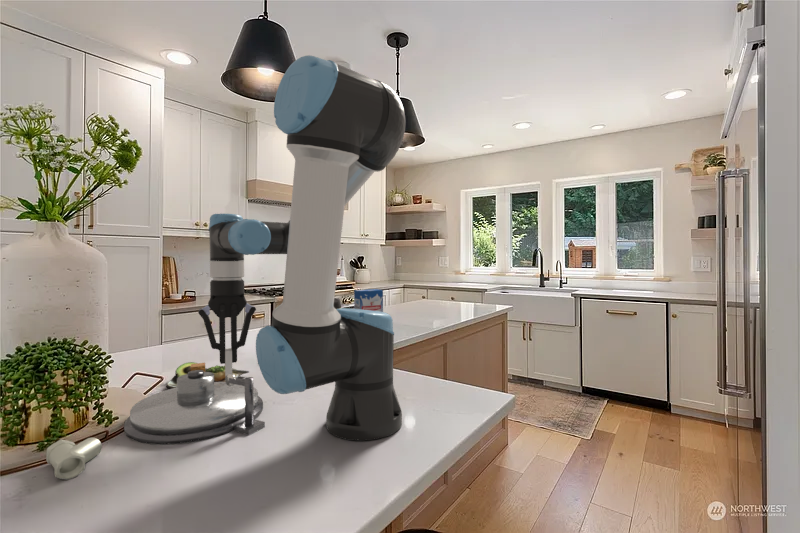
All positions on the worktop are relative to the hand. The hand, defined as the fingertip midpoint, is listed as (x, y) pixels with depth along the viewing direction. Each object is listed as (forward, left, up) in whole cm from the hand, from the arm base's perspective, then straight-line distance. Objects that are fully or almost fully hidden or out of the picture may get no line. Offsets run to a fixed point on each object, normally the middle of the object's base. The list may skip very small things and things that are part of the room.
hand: (228, 376), depth 96 cm
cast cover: (-10, +7, -2) cm, 12 cm away
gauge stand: (-20, -1, -5) cm, 21 cm away
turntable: (-10, +6, -4) cm, 12 cm away
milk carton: (+44, -55, -5) cm, 70 cm away
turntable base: (-10, +6, -5) cm, 13 cm away
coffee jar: (+36, -36, -5) cm, 51 cm away
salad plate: (+15, +5, -5) cm, 17 cm away
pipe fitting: (-24, +24, -5) cm, 34 cm away
